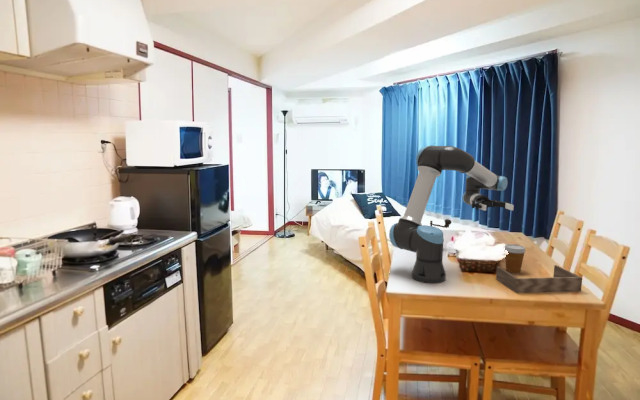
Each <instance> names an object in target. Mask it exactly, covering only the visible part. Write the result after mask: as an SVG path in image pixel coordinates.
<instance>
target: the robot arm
mask: <svg viewBox="0 0 640 400" xmlns="http://www.w3.org/2000/svg"><path fill="white" fill-rule="evenodd" d="M415 160H416V161H415V165H416V166H417V171H418V175H417V177H416V180H415V183H414V186H413V189H412V192H411V194H410V197H409V201H408V203H407V206H406V207H405V208H406V209H405V212H404V213H403V214H404V215H403V216H402V217H399V219H398V222H396V223H393V225H391V227H390V229H389V231H388V232H389V235H388V236H389V238H388V239H389V240H390V243H391V245H392V246H393V247H395V248H397V249H400V250H405V251H409V252H413V253H416V255H415V262H414V265H413V268H412V270H411V278H412V279H413V280H414V281H418V282H421V283H430V284H438V283H443V282H445V281H446V278H447V274H446V270H445V267H444V264H443V256H444V232H443V231H442V229H440V228H438V227H437V226H434V225H432V226H430V225H425V224H423V223H422V220H423V217H424V214H425V211H426V208H427V205H428V202H429V199H430V196H431V194H432V192H433V191H432V190H433V187H434V185H435V182H436V179H437V178H438V177H440V176H441V175H442V172H443V171H454V172H455V171H456V172H459V173H460V174H466V177H465V191H464V193H463V194H462V201H463V203H465V204H466V205H468V206H471V209H475V210H476V211H477V210H482V211H487V208H495V207H496V208H504V209H506V210H509V211H514V209H515V208H514V206H515V205H514V204H512V202H509V201H501V200H496V199H495V200H494V199H493V200H492V199H489V197H488V196H486V195H484V194H481V193H480V192H481V189H482V190H491V191H505V190H506V189H507V187H508V178H507V177H506V176H503V175H497V174H496V173H494V172H492V171H491V170H489V169H488V168H487V167H485V166H484V165H482V164H481V163H480V162H478V161H476V160H475V158H474V156H473V155H472V154H470V153H469V152H467V151H465V150H463V149H461V148H459V147H456V146H454V145H452V146H451V145H433V144H432V145H431V144H430V145H426V146H422V147H421V148H420V149H419V150H418V152H417V153H416V156H415Z"/></svg>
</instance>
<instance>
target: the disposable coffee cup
mask: <svg viewBox="0 0 640 400" xmlns="http://www.w3.org/2000/svg"><path fill="white" fill-rule="evenodd" d="M504 247H505V250H507V251H508V253H509V254H508V255H506V257H505V256H504V258H505V259H504V261H505V270H506V271H507V272H509V273H514V274H516V273H517V274H518V273H521V269H522V265H523V260H524V256H525V253H526V248H525V246H523V245H518V244H513V243H512V244H505V246H504ZM505 250H504V251H505Z"/></svg>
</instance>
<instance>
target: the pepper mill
mask: <svg viewBox="0 0 640 400" xmlns="http://www.w3.org/2000/svg"><path fill="white" fill-rule="evenodd" d="M451 224H452V220H451V219H449V218H447V219H444V225H442V224H441V225H440V224H437V223H435V224H434V223H433V220H430V223H429V226H433V227H440V228H446V229H447V228H448V229H449V228H450V225H451Z"/></svg>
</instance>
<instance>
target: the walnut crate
mask: <svg viewBox="0 0 640 400" xmlns="http://www.w3.org/2000/svg"><path fill="white" fill-rule="evenodd" d="M495 279H496V280H497V281H498V282H500V283H501V284H502V285H503V286H505V287H506V288H508V289H510V290H511V291H512V292H514V293H515V294H533V293H537V294H538V293H568V292H569V293H571V292H572V293H573V292H574V293H575V292H577V293H578V292H582V286H583V277H582V276H580V275H577V274H575V273H574V272H572V271H569V270H567V269H566V268H563V267H561V266H559V265H556V264H555V265H554V266H553V276H552V277H517V276H516V275H513V274H511V272H508V271H506V269H504V268H502V267H501V266H496V276H495Z"/></svg>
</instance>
